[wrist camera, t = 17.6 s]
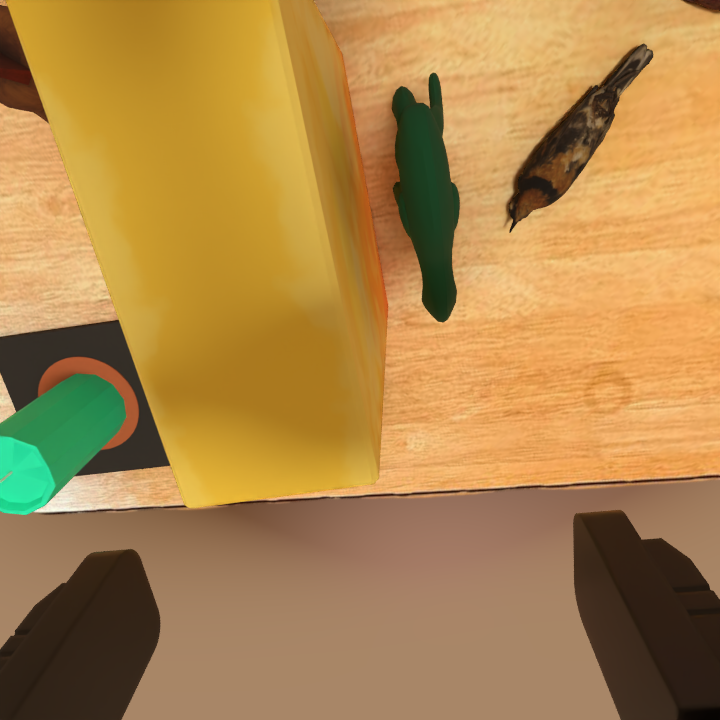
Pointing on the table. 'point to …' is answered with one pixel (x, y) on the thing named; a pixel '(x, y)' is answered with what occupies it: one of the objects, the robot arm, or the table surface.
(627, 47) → the table surface
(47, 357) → the mat
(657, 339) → the table surface
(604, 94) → the bird model
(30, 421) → the candle
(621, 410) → the table surface
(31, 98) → the wooden figurine
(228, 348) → the mottled yellow carton
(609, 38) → the table surface
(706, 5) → the rock
